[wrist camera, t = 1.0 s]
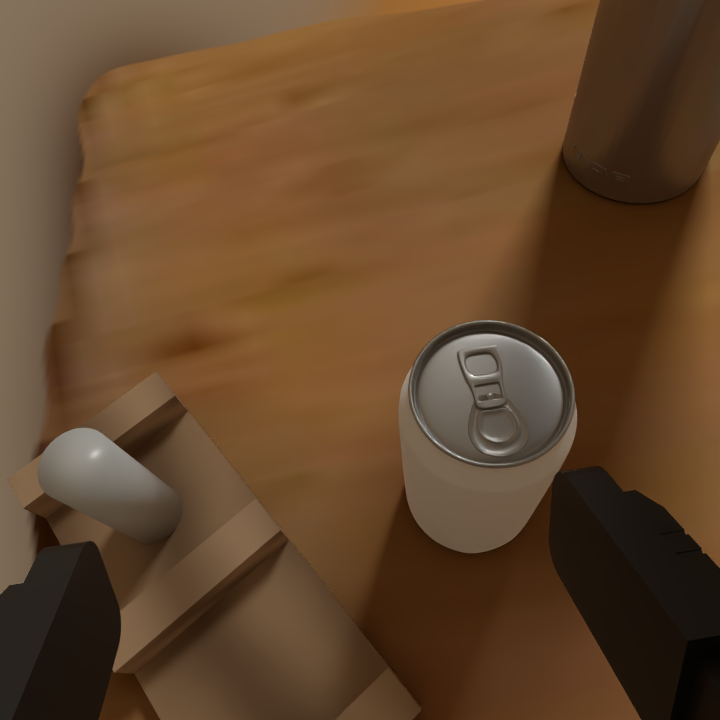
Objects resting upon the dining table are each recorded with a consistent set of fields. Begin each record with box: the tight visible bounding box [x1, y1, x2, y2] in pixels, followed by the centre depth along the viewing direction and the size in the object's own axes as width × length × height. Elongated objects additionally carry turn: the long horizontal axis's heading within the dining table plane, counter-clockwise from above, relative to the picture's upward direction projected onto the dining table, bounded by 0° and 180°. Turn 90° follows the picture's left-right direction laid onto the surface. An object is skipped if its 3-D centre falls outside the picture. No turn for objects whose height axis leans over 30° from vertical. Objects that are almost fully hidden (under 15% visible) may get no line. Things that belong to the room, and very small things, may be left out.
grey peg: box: [37, 428, 182, 544], centre depth 27 cm, size 3×3×8 cm
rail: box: [8, 372, 422, 720], centre depth 28 cm, size 9×21×3 cm, turn 41°
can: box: [398, 320, 577, 553], centre depth 25 cm, size 6×6×12 cm
